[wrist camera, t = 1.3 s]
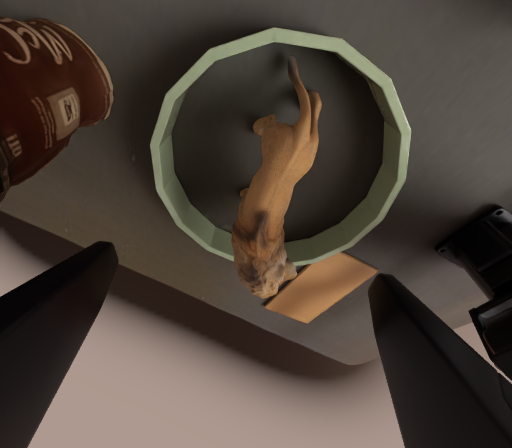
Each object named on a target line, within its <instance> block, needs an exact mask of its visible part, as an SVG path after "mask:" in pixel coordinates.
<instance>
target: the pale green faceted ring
mask: <svg viewBox="0 0 512 448" xmlns="http://www.w3.org/2000/svg"><path fill="white" fill-rule="evenodd" d="M272 42H279V43H285V44H291V45H297V46H303V47H309V48H315V49H321V50H327V51H331V52H332V53H333V54H335V55H336V56H337V57H338V58H340V59H341V60H342V61H343V62H345V63H346V64H347V65H349V66H350V67H351V68H352V69H354V70H355V71H356V72H358V73H359V74H360V75H361V76H363V77H364V78H365V79H366V80H367V82H368V85H369V87H370V89H371V91H372V94H373V96H374V98H375V101H376V103H377V105H378V107H379V110H380V112H381V114H382V117H383V119H384V141H383V163H382V165H381V167H380V169H379V171H378V174H377V176H376V178H375V180H374V182H373V184H372V186H371V188H370V190H369V192H368V194H367V196H366V198H365V199H364V200H363V201H362V202H361V203H360V204H359V205H358V206H357V207H356V208H355V209H354V210H353V211H352V212H351V213H350V214H349V215H348V216H347V217H345V218H344V219H343V220H342V221H341V222H340V223H339V224H337V225H335V226H333V227H331V228H329V229H327V230H325V231H323V232H321V233H319V234H317V235H315V236H313V237H311V238H308V239H302V240H296V241H290V242H284V248H285V251H286V253H287V256H286V257H288V259H289V261H291V262H292V263H293V264H294V265H295V266H299V265H306V264H313V263H317V262H319V261H321V260H323V259H326V258H328V257H330V256H332V255H335V254H337V253H339V252H341V251H344V250H346V249H348V248H350V247H352V246H353V245H355V244H356V243H357V242H358V241H359V240H360V239H361V238H363V237H364V236H365V235H366V234H367V233H368V232H370V231H371V230H372V229H373V228H374V227H375V226H376V225H378V224H379V223H380V222H381V221H382V220H383V219H384V217H385V216H386V214H387V212H388V210H389V208H390V207H391V205H392V203H393V201H394V200H395V198H396V196H397V194H398V193H399V191H400V189H401V187H402V186H403V184H404V182H405V180H406V173H407V164H408V155H409V146H410V138H411V129H410V126H409V124H408V121H407V119H406V116H405V113H404V111H403V108H402V106H401V103H400V100H399V98H398V95H397V93H396V90H395V87H394V85H393V82H392V80H391V78H390V77H389V76H387V75H386V74H385V73H384V72H383V71H381V70H380V69H379V68H378V67H376V66H375V65H374V64H373V63H371V62H370V61H369V60H368V59H367V58H365V57H364V56H363V55H362V54H360V53H359V52H358V51H357V50H355V49H354V48H353V47H352V46H351V45H349V44H348V43H347V42H346V41H344V40H343V39H341V38H336V37H330V36H324V35H318V34H312V33H307V32H301V31H295V30H289V29H283V28H277V27H271V28H268V29H265V30H262V31H259V32H256V33H253V34H250V35H247V36H244V37H241V38H238V39H235V40H232V41H229V42H226V43H224V44H221V45H218V46H215V47H213V48H210V49H209V50H208V51H207V52H206V53H205V54H204V55H203V56H202V57H201V58H200V59H199V60H198V61H197V62H196V63H195V64H194V65H193V66H192V67H191V68H190V69H189V70H188V71H187V72H186V73H185V74H184V75H183V76H182V77H181V78H180V79H179V80H178V81H177V82H176V84H175V85H174V86H173V87H172V88H171V89H170V90H169V91H168V92H167V93H166V94H165V97H164V101H163V104H162V107H161V110H160V113H159V116H158V120H157V123H156V126H155V129H154V132H153V136H152V139H151V142H150V149H151V156H152V164H153V171H154V178H155V186H156V191H157V193H158V194H159V196H160V198H161V199H162V201H163V203H164V204H165V206H166V208H167V210H168V211H169V213H170V215H171V216H172V218H173V220H174V221H175V223H176V225H177V226H178V227H179V228H180V229H182V230H183V231H184V232H185V233H186V234H188V235H189V236H190V237H191V238H192V239H194V240H195V241H196V242H197V243H198V244H200V245H201V246H202V247H203V248H205V249H206V250H207V251H210V252H212V253H214V254H217V255H219V256H222V257H224V258H227V259H229V260H231V261H234V251H233V247H232V242H231V239H232V235H231V233H229V232H226V231H224V230H222V229H220V228H217V227H215V226H214V225H213V224H212V223H211V222H210V221H209V220H208V219H207V218H206V217H204V216H203V215H202V214H201V213H200V212H199V211H198V210H197V209H196V208H195V207H194V206H192V205H191V203H190V202H189V200H188V198H187V196H186V194H185V192H184V190H183V188H182V186H181V184H180V182H179V180H178V178H177V176H176V174H175V172H174V160H173V147H172V135H171V133H172V130H173V127H174V125H175V122H176V119H177V116H178V113H179V111H180V108H181V105H182V102H183V100H184V97H185V94H186V91H187V90H188V89H189V88H190V87H191V86H192V85H193V84H194V83H195V82H196V81H197V80H198V79H199V78H200V77H201V76H202V75H203V74H204V73H205V72H206V71H207V70H208V69H210V68H211V67H212V66H213V65H214V64H215V63H216V62H217V61H218V60H220V59H223V58H226V57H229V56H232V55H235V54H238V53H241V52H244V51H247V50H251V49H254V48H257V47H260V46H263V45H266V44H269V43H272Z"/></svg>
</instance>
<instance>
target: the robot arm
mask: <svg viewBox="0 0 512 448" xmlns="http://www.w3.org/2000/svg"><path fill="white" fill-rule="evenodd" d="M435 250H436V251H437V253H438V254H440V255H442V256H443V257H445V258H447V259H449V260H450V261H452V262H454V263H456V264H457V265H459V266H461V267H462V268H464V269H465V271H466V272H467V273H468V274H469V275H470V277H471V278H472V279H473V280H474V282H475V283H476V284H477V285H478V287H479V288H480V289H481V290H482V292H483V293H484V294H485V295H486V297H487V298H488V299H489V300H490V301H488V302H486V303H484V304H482V305H481V306H479V307H477V308H473V309H471V310H469V314H470V316H471V318H472V321H473V323H474V326H475V327H476V330H477V332H478V334H479V336H480V339H481V341H482V343H483V345H484V347H485V349H486V351H487V353H488V356H489V358H490V360H491V361H492V362H493V363H494V365H495V366H496V367H497V368H498V369H499V370H501V371H502V372H503V373H504V374H505V375H506V376H507V377H508V378H509V379H510V380H512V214H511V213H510V212H508V211H507V210H505V209H504V208H503V207H501V206H496V207H494V208H492V209H491V210H489V211H488V212H486V213H485V214H483V215H482V216H480V217H479V218H477V219H476V220H475V221H473V222H472V223H470V224H469V225H467V226H466V227H464V228H463V229H461V230H460V231H459V232H457V233H456V234H454V235H453V236H451V237H450V238H448V239H447V240H445V241H444V242H443V243H441V244H440V245H438V246H437V247H436V248H435ZM118 262H119V261H118V256H117V253H116V250H115V247H114V244H113V243H111V242H105V241H98V242H96V243H94V244H92V245H91V246H89V247H87V248H85V249H84V250H82V251H80V252H78V253H76V254H75V255H73V256H71V257H69V258H68V259H66V260H64V261H63V262H61V263H59V264H57V265H55V266H54V267H52V268H50V269H48V270H47V271H45V272H43V273H42V274H40V275H38V276H36V277H35V278H33V279H31V280H29V281H27V282H26V283H24V284H22V285H20V286H19V287H17V288H15V289H13V290H11V291H10V292H8V293H6V294H4V295H3V296H1V297H0V448H27V447H28V445H29V444H30V441H31V440H32V438H33V436H34V434H35V432H36V430H37V428H38V427H39V425H40V423H41V421H42V419H43V417H44V415H45V413H46V411H47V409H48V408H49V406H50V404H51V402H52V400H53V398H54V396H55V394H56V393H57V391H58V389H59V387H60V385H61V383H62V381H63V379H64V377H65V376H66V374H67V372H68V370H69V368H70V366H71V364H72V362H73V360H74V358H75V357H76V355H77V353H78V351H79V349H80V347H81V345H82V343H83V341H84V340H85V338H86V336H87V333H88V332H89V330H90V328H91V326H92V324H93V323H94V321H95V319H96V317H97V315H98V313H99V311H100V309H101V307H102V305H103V302H104V300H105V297H106V295H107V292H108V289H109V287H110V285H111V282H112V280H113V277H114V274H115V272H116V269H117V267H118ZM368 296H369V302H370V309H371V315H372V321H373V328H374V333H375V338H376V342H377V346H378V350H379V353H380V357H381V361H382V364H383V368H384V371H385V375H386V379H387V383H388V387H389V390H390V394H391V398H392V401H393V405H394V409H395V413H396V416H397V420H398V424H399V427H400V431H401V434H402V438H403V442H404V446H405V448H512V384H511V383H510V382H509V381H508V380H507V379H506V378H505V377H504V376H502V375H501V374H500V373H497V370H496V369H495V368H494V367H492V366H491V365H490V364H489V363H488V362H487V361H486V360H484V358H483V357H481V356H480V355H479V354H478V353H477V352H476V351H475V350H474V349H473V348H472V347H471V346H469V345H468V344H467V343H466V342H465V341H464V340H463V339H462V338H461V337H460V336H458V335H457V334H456V333H455V332H454V331H453V330H452V329H451V328H450V327H449V326H448V325H446V324H445V323H444V322H443V321H442V320H441V319H440V318H439V317H438V316H437V315H435V314H434V313H433V312H432V311H431V310H430V309H429V308H428V307H427V306H426V305H425V304H423V303H422V302H421V301H420V300H419V299H418V298H417V297H416V296H415V295H414V294H412V293H411V292H410V291H409V290H408V289H407V288H406V287H405V286H404V285H403V284H402V283H400V282H399V281H398V280H397V279H396V278H395V277H394V276H392V275H390V274H383V273H380V274H378V275H377V276H376V278H375V279H374V281H373V282H372V284H371V285H370V287H369V290H368Z"/></svg>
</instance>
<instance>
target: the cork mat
mask: <svg viewBox="0 0 512 448" xmlns="http://www.w3.org/2000/svg"><path fill="white" fill-rule="evenodd" d="M377 272H378V269H377V268H375V267H373V266H371V265H369V264H367V263H364V262H362V261H360V260H358V259H356V258H354V257H352V256H350V255H348V254H346V253H344V252H342V251H341V252H339V253H337V254H335V255H332V256H330V257H328V258H326V259H323V260H321V261H319V262H317V263H313V264H308V265H307V266H306V267H305V268H304V269H303V270H302V271H301V272H299V273H298V274H297V276H296V277H295V278H294V279H292V280H291V281H290V282H289V283H288V284H287V285H286V286H285V287H284V288H282V289H281V290H280V291H279V292H278V293H277V294H276V295H275V296H274V297H273V298H272V299H271V300H270V301H269V302H268V303H267V304H265V308H266V309H269V310H272V311H275V312H277V313H280V314H283V315H285V316H288V317H291V318H294V319H296V320H299V321H302V322H305V323H308V322H310V321H311V320H313V319H314V318H315V317H317V316H318V315H319V314H321V313H322V312H323V311H325V310H326V309H328V308H329V307H330V306H332V305H333V304H334V303H336V302H337V301H339V300H340V299H341V298H343V297H344V296H345V295H347V294H348V293H349V292H351V291H352V290H354V289H355V288H356V287H358V286H359V285H360V284H362V283H363V282H364V281H366V280H367V279H369V278H370V277H371V276H373V275H374V274H375V273H377Z"/></svg>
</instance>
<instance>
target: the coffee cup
mask: <svg viewBox="0 0 512 448" xmlns="http://www.w3.org/2000/svg"><path fill="white" fill-rule="evenodd" d="M112 92H113V85H112V82H111V78H110V75H109V72H108V70H107V69H106V67H105V65H104V63H103V62H102V61H101V60H100V58H99V57H98V56H97V55H96V54H95V52H94V51H93V50H92V49H91V48H90V47H89V46H88V45H87V44H86V43H85V42H84V41H83V40H82V39H81V38H80V37H79V36H78V35H77V34H75V33H74V32H73V31H72V30H70V29H69V28H67V27H66V26H63V25H59V24H57V23H55V22H53V21H51V20H47V19H31V20H27V21H24V22H20V21H16V20H12V19H10V18H6V17H0V202H1V201H2V200H3V199H4V197H5V195H6V193H7V191H8V190H9V188H10V187H11V186H15V185H18V184H20V183H22V182H24V181H25V180H27V179H29V178H30V177H32V176H33V175H34V174H36V173H37V172H38V171H40V170H41V169H42V168H44V167H45V166H46V165H48V164H49V163H50V162H51V161H52V160H54V159H55V158H56V157H57V155H58V154H59V153H60V152H61V151H62V150H63V148H65V147H67V145H68V143H69V139H70V137H71V136H72V134H73V133H75V131H76V130H77V128H78V127H89V126H93V125H96V124H97V123H98V122H99V121H101V120H105V119H106V118H107V117H108V116H109V115H110V110H111V105H112V103H113V100H114V97H113V93H112Z"/></svg>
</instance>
